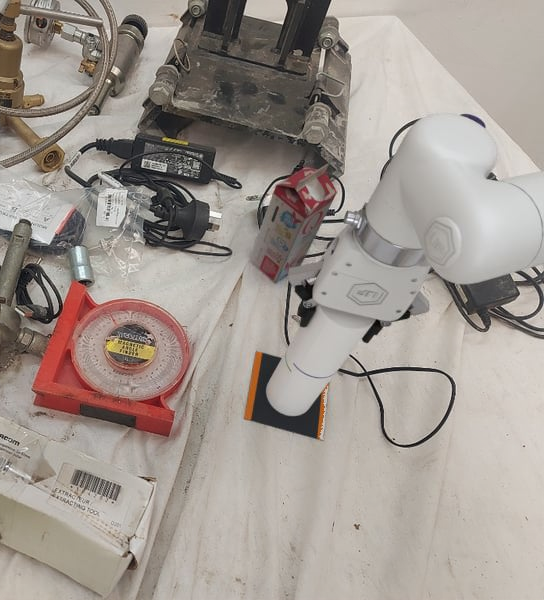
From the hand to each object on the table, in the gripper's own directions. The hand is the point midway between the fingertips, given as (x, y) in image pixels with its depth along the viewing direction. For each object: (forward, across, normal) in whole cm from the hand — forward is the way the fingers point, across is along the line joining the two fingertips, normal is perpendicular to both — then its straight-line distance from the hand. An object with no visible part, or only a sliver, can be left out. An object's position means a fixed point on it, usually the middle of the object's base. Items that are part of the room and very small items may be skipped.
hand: (334, 325), depth 72 cm
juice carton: (+20, -5, +25) cm, 33 cm away
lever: (+20, +34, +72) cm, 82 cm away
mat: (+20, 0, 0) cm, 20 cm away
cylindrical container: (+20, 0, 0) cm, 20 cm away
